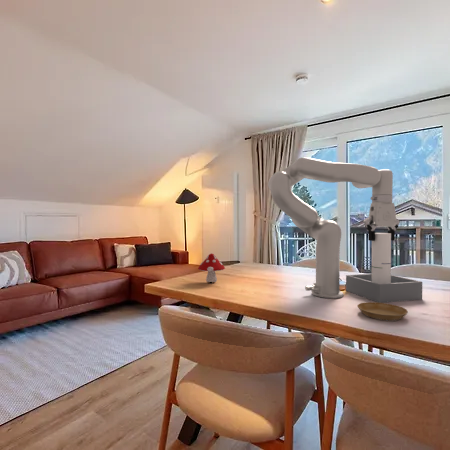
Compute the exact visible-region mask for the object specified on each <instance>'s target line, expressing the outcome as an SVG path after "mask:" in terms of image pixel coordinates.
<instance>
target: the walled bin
mask: <svg viewBox="0 0 450 450" xmlns="http://www.w3.org/2000/svg"><path fill="white" fill-rule="evenodd" d="M345 291H346V292H348V293H351V294H354V295H357V296H359V297H362V298H365V299H368V300H371V301H372V302H378V303H395V302H408V301H418V300H420V301H421V300H423V281H421V280H420V281H419V280H415V279H412V278H407V277H403V276H397V275H394V274H391V283H387V284H378V283H375V282H372V273H361V274H346V275H345Z"/></svg>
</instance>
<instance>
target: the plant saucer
mask: <svg viewBox="0 0 450 450" xmlns="http://www.w3.org/2000/svg"><path fill="white" fill-rule="evenodd" d="M356 307H357V308H358V309H359V311H360V312H361V313H362V314H363V315H364V316H365V317H368V318H370V317H371V319H374V320H380V321H386V320H388V321H393V322H395V321H399V320H401V319H403V318H404V317H405V316H406V315H407V314H408V310H407V309H406V308H405V307H403V306H400V305H396V304H392V303H391V304H390V303H388V302H385V303H379V302H376V301H372V302H370V301H367V302H360V303H358V304H357V306H356ZM394 320H395V321H394ZM388 321H387V322H388Z"/></svg>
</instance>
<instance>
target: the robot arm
mask: <svg viewBox="0 0 450 450" xmlns="http://www.w3.org/2000/svg"><path fill="white" fill-rule="evenodd" d="M393 175H394V173H393V171H392V170H391V169H378V168H376V167H374V166H370V165H365V164H360V163H348V162H334V161H333V162H332V161H327V160H322V159H317V158H311V157H299V158H297V159H295V160H294V161H293V163H291V164H290V165H288V166H287V167H285V168H284V169H282V170H278V171H276V172H274V173H273V174H272V175H271V177H270V178H269V180H268V182H267V187H268V189H269V191H270V194H271V198H272V200H273V203H274V204H275V205H276V207H277V208H278V209H279V210H281V211H282V212H283V213H284V214H286V215H287V217H290V219H291V221H292V223H293V224H294V225H295V226H296V227H297V228H299V229H300V230H301V231H302V232H304V233H306V234H307V235H308V236H310V237H311V238H313V239H314V240H316V244H315V282H313V283H312V284H313V285H312V284H311V285H307V286H305V287H304V289H305V291H307V292H308V291H311V294H312V295H313V296H315V297H318V298H323V299H324V298H325V299H339V298H342V297H344V292H343V291H341V290H340V289H341V288H340V286H341V285H340V278H341V277H340V274H341V273H340V272H341V271H340V267H341V266H340V263H341V262H340V259H341V258H340V253H341V252H340V249H341V248H340V247H341V240H342V229H341V227H340V225H339V224H338V222H336V221H334V220H332V219H331V220H330V219H323V218H322V217H320V216H319V213H318V212H317V210H316V209H315V208H314V207H312V206H311V205H309V203H306V202H304V201H303V200H302V199H301V198H299V196H297V195H295V193H294V192H293V191H292V189H291V188H292V187H293V186H294V185H296V184H298V183H299V182H301V181H302V180H304V179H308V180H314V181H319V182H323V183H344V182H345V183H346V182H347V183H351V184H352V186H353V187H354V188H356V189H367V188H371V196H370V200H371V203H370V207H369V210H368V211H369V212H368V217H367V218H365V219H364V220H362V221H363V225H364V227H365V229H366V231H367V232H368V236H367V237H368V241H371V242H372V241H375V233H376V231H375V230H376V228H377V227H379V228H380V227H382V228H383V227H386V228H387V229H388V231H387V233H391V242H392V241H394V242H395V238H396V231H397V229H398V228H399V225H400V220H399V219H397V213H396V211H397V210H396V207H395V203H394V202H393V187H394V186H393V183H394V182H393V179H394V178H393V177H394V176H393Z"/></svg>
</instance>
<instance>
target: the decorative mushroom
mask: <svg viewBox="0 0 450 450" xmlns="http://www.w3.org/2000/svg"><path fill="white" fill-rule="evenodd" d="M225 269H226V267H225V265H224V264H223V263H222V262H221V261H220V260H219V259H218V258H217V257H216V255H215V254H214V253H209V254H208V255H207V256H206V257H205V259H204V260H203V261H201V262H200V264H199V266H198V267H197V270H198V271H202V272H207V275H206V279H205V280H206V283H208V282H215V283H216V282H217V281H218V277H217V274H216V272H221V271H224V270H225Z"/></svg>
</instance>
